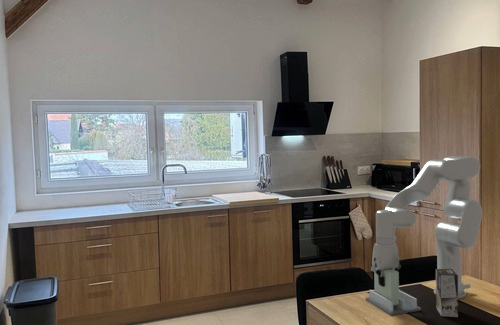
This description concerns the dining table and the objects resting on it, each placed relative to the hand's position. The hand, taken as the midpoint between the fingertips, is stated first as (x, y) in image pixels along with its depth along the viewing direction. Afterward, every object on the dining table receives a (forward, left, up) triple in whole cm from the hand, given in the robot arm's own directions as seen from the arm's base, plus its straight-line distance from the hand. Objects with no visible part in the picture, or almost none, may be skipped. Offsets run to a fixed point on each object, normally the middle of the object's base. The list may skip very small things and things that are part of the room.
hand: (386, 284), depth 181 cm
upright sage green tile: (0, 0, -6) cm, 6 cm away
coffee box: (-18, +14, -9) cm, 24 cm away
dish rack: (-3, 0, -9) cm, 9 cm away
